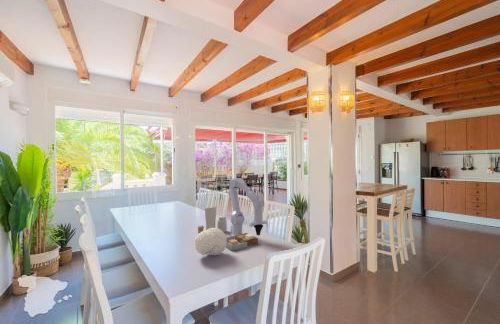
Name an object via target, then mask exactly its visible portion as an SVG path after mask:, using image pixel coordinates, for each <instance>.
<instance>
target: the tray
mask: <svg viewBox="0 0 500 324" xmlns="http://www.w3.org/2000/svg"><path fill="white" fill-rule="evenodd" d="M226 239H227V244H226V247H225V249H228V250H229V251H231V252H235V251H240V250H244V249H246V248H248V246H247V242H245V243H239V242H238V244H235V245H231V244H229V240H233V239H235V236H228V237H227V236H226Z"/></svg>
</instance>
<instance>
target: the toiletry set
mask: <svg viewBox="0 0 500 324" xmlns="http://www.w3.org/2000/svg"><path fill="white" fill-rule="evenodd" d="M204 215H205V227H204V225H203V224H202V225H201V224H199V225H198V226H197V235H198V234H199V233H201V232H202V231H204V228H205V231H206V230H207V229H209V228H218V229H220V230H222V231H223V232H224V233H226V232H227V228H228V227H227V226H228V225H227V221H228V220H227V217H226V215H219V216H218V219H216V217H217V206H213V207H207V208H206V207H205V208H204ZM216 220H217V223H216ZM216 224H217V226H216Z"/></svg>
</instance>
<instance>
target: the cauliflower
mask: <svg viewBox="0 0 500 324" xmlns="http://www.w3.org/2000/svg"><path fill="white" fill-rule="evenodd" d="M226 238H227V236H226V233H225V232H223V231H222V230H220V229H218V228H217V227H215V228H209V229H207V230H206V229H205V230H203V231H202V232H201V233H199V234H198V233H197V235H196V236H195V238H194V245H195V246H194V247H195V250H196V251H197V253H198V254H200V255H201V256H204V255H210V256H219V255H220V254H222V253H223V252H224V250H225V249H226V244H227V239H226Z"/></svg>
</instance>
